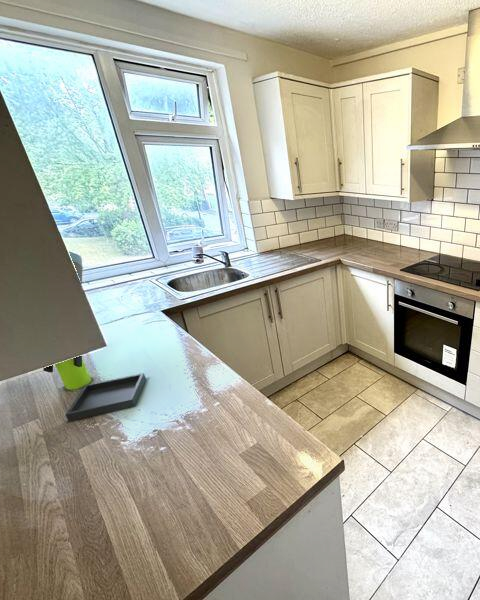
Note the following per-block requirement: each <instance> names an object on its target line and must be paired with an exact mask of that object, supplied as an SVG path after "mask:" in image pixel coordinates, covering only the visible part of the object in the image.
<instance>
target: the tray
mask: <svg viewBox="0 0 480 600" xmlns="http://www.w3.org/2000/svg"><path fill="white" fill-rule="evenodd" d="M146 381H147V378H146V374H145V373H144V372H142V373H137V374H132V375H127V376H123V377H116V378H112V379H107V380H103V381H98V382H92V383H89V384H87V385H85V386H83V387H82V389H81V390H80V391H79V393H78V395H77V396H76V398H75V399H74V400H73V402H72V403H71V405H70V407H69V409H67V411H66V413H64V416H65V417H66V419H67V422H73V421H77V420H82V419H86V418H90V417H94V416H98V415H104V414H108V413H111V412H116V411H120V410H125V409H130V408H133V407H135V406H136V405H137V403H138V400H139V397H140V395H141V393H142V390H143V388H144V386H145V383H146Z"/></svg>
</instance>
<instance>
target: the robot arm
mask: <svg viewBox="0 0 480 600" xmlns="http://www.w3.org/2000/svg"><path fill="white" fill-rule="evenodd" d="M68 251H69V253H70V256H71V258H72V261H73V263H74V265H75V268H76V270H77V273H78V276H79V278H80V281H81V283H82V284H83V269H84V267H83V258H82V256H81V255H80V254H79V253H77V252H75V251H73V250H68ZM82 359H83V355H82V356H79V357H76V358H74V365H75V366H77V367H82ZM43 372H46V373H50V374H51V373H53V372H54V364H53V365H52V366H49V367H46V368H44V367H43Z"/></svg>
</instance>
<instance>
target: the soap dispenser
mask: <svg viewBox="0 0 480 600" xmlns="http://www.w3.org/2000/svg"><path fill="white" fill-rule="evenodd" d="M54 366H55V368H56V370H57V372H58V374H59V376H60V379H61V381H62V383H63V386H64V388H65V389H66V390H69V391H72V390H78V389H81V388H83V387H84V386H85V385H87V384H91V382H92V378H91V376H90V374H89V372H88V368H87V366H86V364H85V361H84V359H83V358H82V367H77V366H75V365H74V358H73V359H70V360H67V361H64V362H61V363H58V364H54Z"/></svg>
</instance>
